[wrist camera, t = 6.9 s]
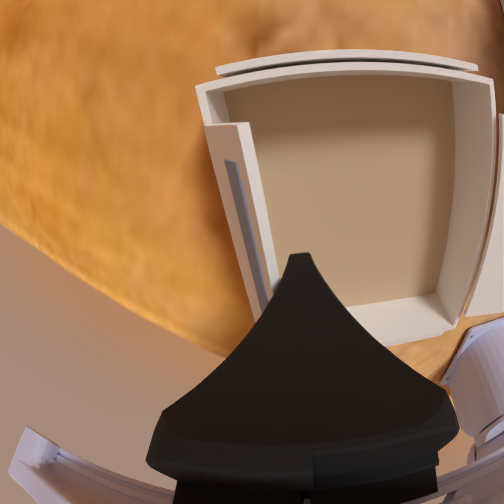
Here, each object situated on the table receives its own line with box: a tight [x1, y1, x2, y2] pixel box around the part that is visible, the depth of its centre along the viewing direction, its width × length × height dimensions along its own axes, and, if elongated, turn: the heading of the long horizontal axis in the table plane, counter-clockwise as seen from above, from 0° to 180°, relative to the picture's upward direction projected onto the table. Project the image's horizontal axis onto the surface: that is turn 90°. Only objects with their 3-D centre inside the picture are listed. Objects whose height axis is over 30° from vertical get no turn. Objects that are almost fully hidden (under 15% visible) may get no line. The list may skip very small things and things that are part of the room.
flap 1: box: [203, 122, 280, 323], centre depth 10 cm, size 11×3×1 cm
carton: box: [195, 49, 496, 347], centre depth 12 cm, size 15×12×4 cm
